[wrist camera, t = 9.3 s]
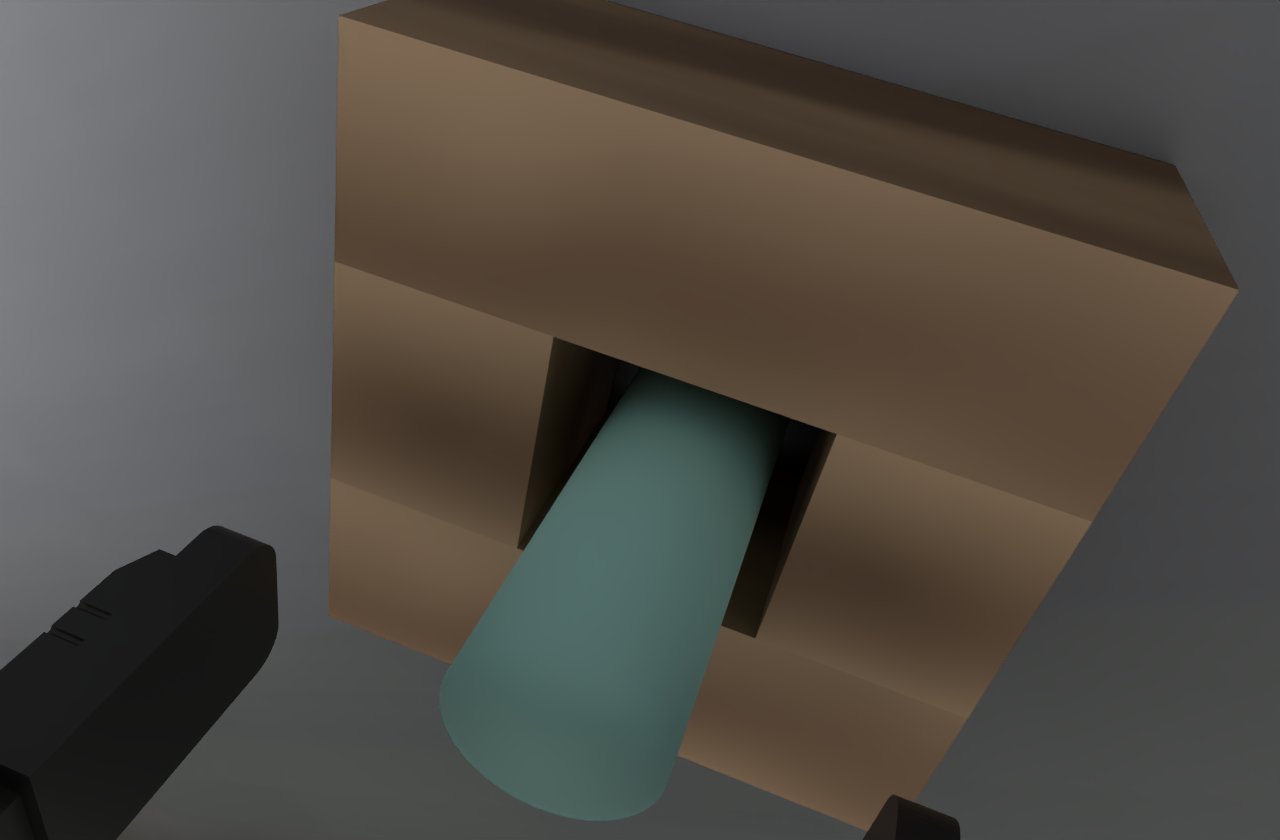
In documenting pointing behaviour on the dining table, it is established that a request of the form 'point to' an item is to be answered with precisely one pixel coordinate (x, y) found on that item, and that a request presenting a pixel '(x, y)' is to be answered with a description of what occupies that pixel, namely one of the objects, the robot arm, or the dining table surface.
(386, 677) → the dining table surface
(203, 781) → the dining table surface
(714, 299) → the hole block
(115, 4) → the dining table surface
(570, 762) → the peg
